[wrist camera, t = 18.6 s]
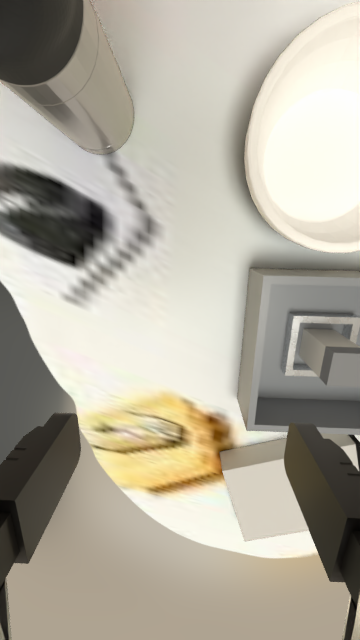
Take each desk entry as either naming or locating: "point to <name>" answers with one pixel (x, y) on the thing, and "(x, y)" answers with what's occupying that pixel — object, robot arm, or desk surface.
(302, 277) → the box
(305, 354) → the block
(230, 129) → the desk surface
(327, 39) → the bowl
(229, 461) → the disc drive
